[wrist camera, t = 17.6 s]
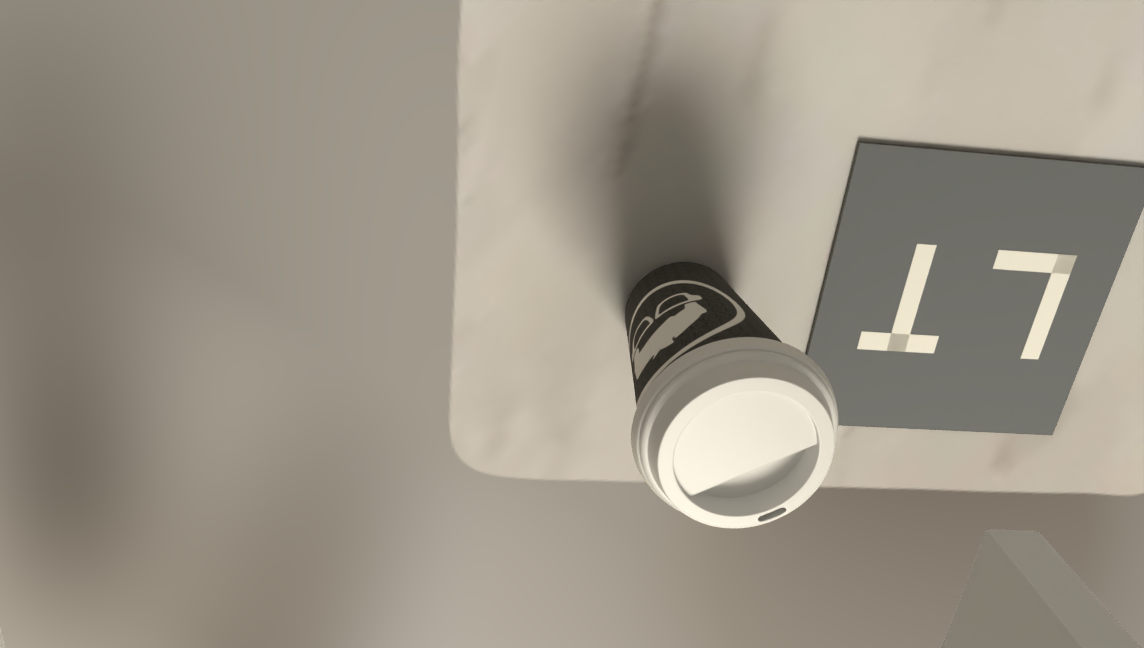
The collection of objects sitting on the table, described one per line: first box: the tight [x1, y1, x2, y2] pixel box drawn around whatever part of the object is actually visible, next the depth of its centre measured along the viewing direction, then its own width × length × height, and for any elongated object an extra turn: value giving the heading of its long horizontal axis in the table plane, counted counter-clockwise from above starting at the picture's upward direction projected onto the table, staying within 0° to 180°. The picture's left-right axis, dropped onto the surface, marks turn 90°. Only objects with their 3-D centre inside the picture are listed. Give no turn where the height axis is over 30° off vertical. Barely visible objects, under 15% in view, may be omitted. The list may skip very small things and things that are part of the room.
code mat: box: [806, 142, 1144, 435], centre depth 52 cm, size 18×18×1 cm
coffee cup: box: [625, 262, 838, 528], centre depth 44 cm, size 10×10×15 cm
